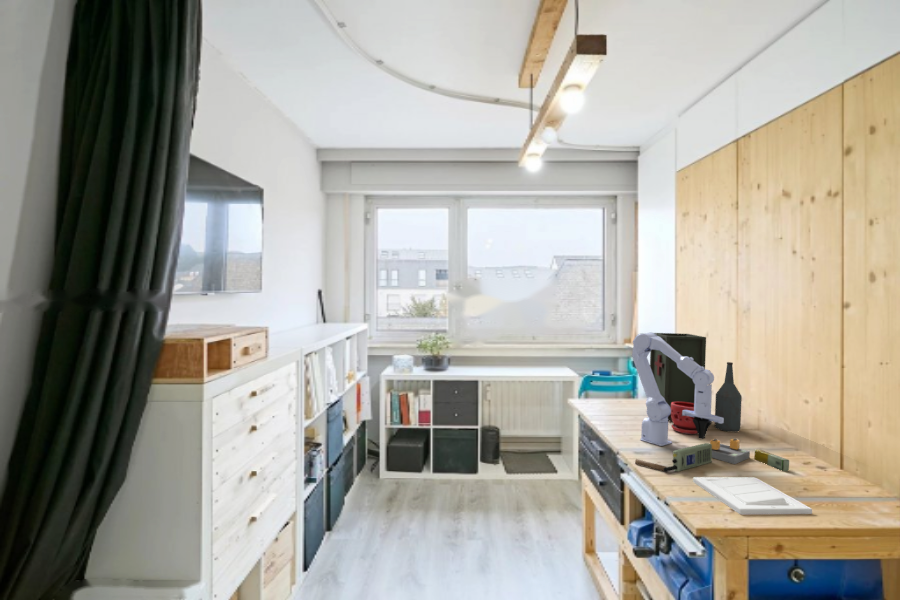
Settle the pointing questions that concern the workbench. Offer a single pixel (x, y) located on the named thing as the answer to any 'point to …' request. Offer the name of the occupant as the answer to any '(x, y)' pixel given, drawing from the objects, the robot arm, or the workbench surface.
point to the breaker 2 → (735, 444)
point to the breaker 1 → (715, 444)
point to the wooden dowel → (650, 465)
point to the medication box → (772, 460)
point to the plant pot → (682, 418)
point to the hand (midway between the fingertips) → (701, 438)
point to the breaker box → (730, 454)
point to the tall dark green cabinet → (668, 375)
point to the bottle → (728, 403)
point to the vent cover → (751, 496)
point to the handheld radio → (691, 457)
